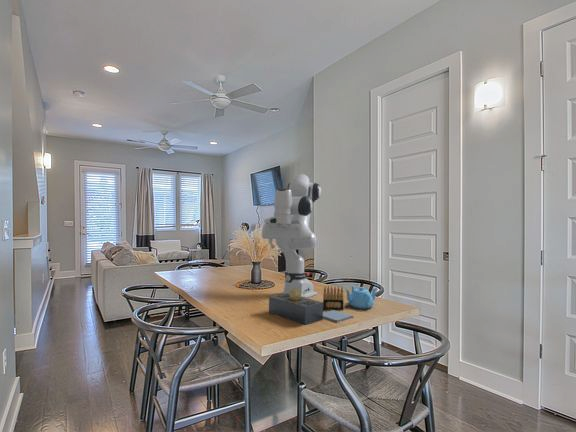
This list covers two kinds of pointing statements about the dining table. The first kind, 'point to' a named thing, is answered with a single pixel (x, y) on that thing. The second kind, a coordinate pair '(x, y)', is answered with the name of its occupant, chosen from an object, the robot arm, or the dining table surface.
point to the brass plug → (295, 295)
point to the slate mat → (336, 316)
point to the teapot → (361, 297)
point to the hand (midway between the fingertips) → (281, 248)
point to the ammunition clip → (333, 299)
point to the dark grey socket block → (296, 309)
